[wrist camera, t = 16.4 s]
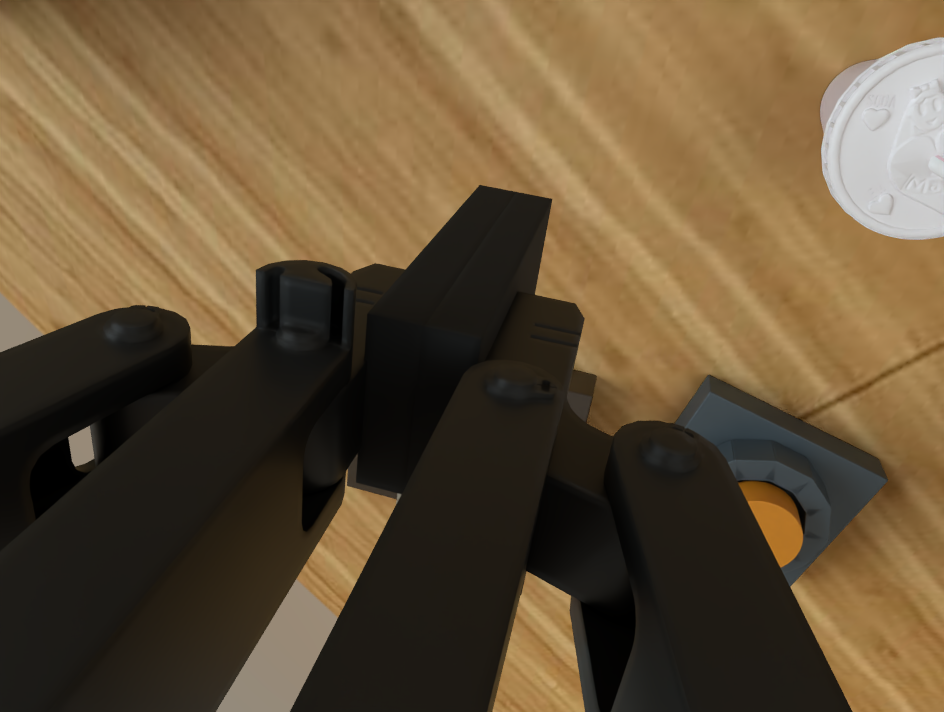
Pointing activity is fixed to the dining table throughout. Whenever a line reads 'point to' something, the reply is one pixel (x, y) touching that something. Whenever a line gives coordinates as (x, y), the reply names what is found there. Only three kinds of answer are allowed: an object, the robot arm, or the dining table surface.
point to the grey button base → (787, 462)
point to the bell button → (775, 518)
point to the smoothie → (889, 141)
